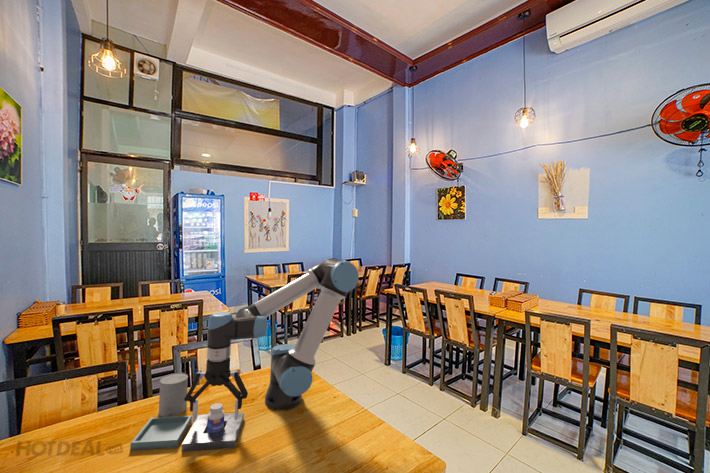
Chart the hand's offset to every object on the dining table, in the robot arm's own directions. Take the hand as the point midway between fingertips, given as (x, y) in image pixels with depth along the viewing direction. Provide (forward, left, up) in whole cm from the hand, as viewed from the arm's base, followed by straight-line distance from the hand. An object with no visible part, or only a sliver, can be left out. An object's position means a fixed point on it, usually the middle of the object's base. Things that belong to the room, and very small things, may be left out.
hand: (215, 418), depth 107 cm
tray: (+17, -1, -5) cm, 18 cm away
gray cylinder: (+20, -17, -6) cm, 27 cm away
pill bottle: (0, 0, -6) cm, 6 cm away
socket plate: (0, 0, -5) cm, 5 cm away
